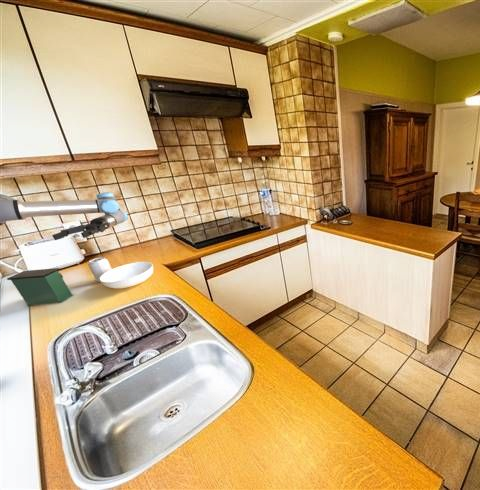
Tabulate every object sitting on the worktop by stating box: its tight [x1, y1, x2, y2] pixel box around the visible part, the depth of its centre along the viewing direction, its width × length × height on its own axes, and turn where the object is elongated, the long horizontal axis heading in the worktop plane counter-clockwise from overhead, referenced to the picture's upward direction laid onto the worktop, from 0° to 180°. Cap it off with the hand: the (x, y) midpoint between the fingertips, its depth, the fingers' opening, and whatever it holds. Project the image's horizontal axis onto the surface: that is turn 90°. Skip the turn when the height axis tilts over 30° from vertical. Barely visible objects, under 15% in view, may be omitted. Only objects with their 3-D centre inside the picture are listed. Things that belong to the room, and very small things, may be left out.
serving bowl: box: [100, 261, 154, 289], centre depth 135 cm, size 21×21×7 cm
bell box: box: [6, 267, 73, 307], centre depth 122 cm, size 15×7×15 cm, turn 95°
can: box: [88, 256, 113, 283], centre depth 139 cm, size 8×8×12 cm
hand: (68, 236), depth 135 cm, fingers open, 13 cm apart
